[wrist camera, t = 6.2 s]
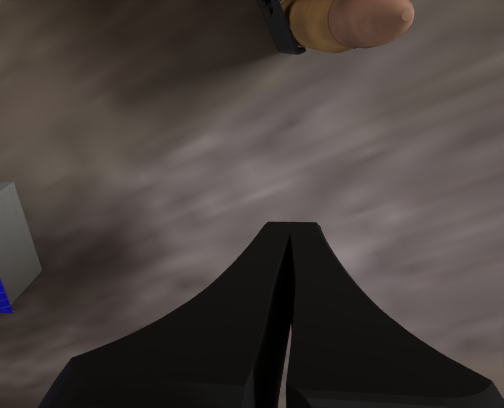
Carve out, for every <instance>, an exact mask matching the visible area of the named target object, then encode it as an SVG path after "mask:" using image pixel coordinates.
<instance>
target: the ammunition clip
mask: <svg viewBox="0 0 504 408" xmlns="http://www.w3.org/2000/svg"><path fill="white" fill-rule="evenodd" d="M257 1H258V3H259V6H260V8H261V10H262V13H263V15H264V18H265V20H266V23H267V25H268V28H269V30H270V33H271V35H272V37H273V40H274V42H275V45H276V47H277V50H278V51H279V52H281V53H288V54H296V55H299V54H301V53H304V52H306V49H305V47H307V48H311V49H315V50H320V51H324V52H333V53H340V52H343V51H347V50H350V49H355V48H371V47H375V46H379V45H383V44H386V43H389V42H391V41H393V40H394V39H396V38H397V37H399V36H400V35H401V34H403V33H404V32H406V31H407V29H408V28H409V26H410V25H411V24H412V22H413V19H414V9H413V6H412V4H411V3H410V2H409V0H257ZM297 45H298V46H302V47H298V46H297Z"/></svg>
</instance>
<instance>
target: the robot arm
mask: <svg viewBox="0 0 504 408" xmlns="http://www.w3.org/2000/svg"><path fill="white" fill-rule="evenodd" d="M290 325H291V328H292V337H291V347H290V356H289V364H288V373H287V380H286V408H504V399H503V397H502V396H501V394H500V393H499V391H498V389H497V388H496V386H495V385H494V383H493V382H492V381H491V380H489V379H487V378H486V377H484V376H482V375H480V374H478V373H476V372H474V371H473V370H471V369H469V368H467V367H465V366H463V365H461V364H459V363H458V362H456V361H454V360H452V359H450V358H448V357H446V356H445V355H443V354H441V353H440V352H438V351H437V350H435V349H434V348H432V347H431V346H429V345H427V344H426V343H424V342H423V341H421V340H420V339H418V338H417V337H415V336H414V335H413V334H411V333H410V332H408V331H407V330H406V329H404V328H403V327H402V326H401V325H399V324H398V323H397V322H396V321H394V320H393V319H392V318H390V317H389V316H388V315H387V314H386V313H384V312H383V311H382V310H381V309H380V308H379V307H378V306H377V305H376V304H375V303H374V302H373V301H372V300H371V299H370V298H369V297H368V296H367V295H366V294H365V293H364V292H363V291H362V290H361V288H360V287H359V286H358V285H357V284H356V283H355V281H354V280H353V279H352V278H351V276H350V275H349V274H348V273H347V271H346V270H345V269H344V267H343V266H342V264H341V263H340V262H339V260H338V259H337V257H336V256H335V254H334V253H333V251H332V249H331V248H330V246H329V244H328V242H327V241H326V239H325V237H324V235H323V232H322V230H321V227H320V226H319V225H318V224H317V223H316V222H267V223H266V224H265V225H264V226H263V228H262V229H261V230H260V232H259V233H258V234H257V236H256V237H255V238H254V240H253V241H252V242H251V243H250V244H249V246H248V247H247V248H246V249H245V250H244V251H243V253H242V254H241V255H240V256H239V257H238V258H237V259H236V260H235V262H234V263H233V264H232V265H231V266H230V267H229V268H227V269H226V270H225V271H224V272H223V273H222V274H221V275H220V276H219V277H218V278H217V279H216V280H215V281H214V282H213V283H212V284H210V285H209V286H208V287H207V288H206V289H204V290H203V291H202V292H201V293H199V294H198V295H197V296H195V297H194V298H192V299H191V300H190V301H188V302H186V303H185V304H183V305H182V306H180V307H179V308H177V309H175V310H174V311H172V312H171V313H169V314H167V315H166V316H164V317H163V318H161V319H159V320H157V321H155V322H153V323H152V324H150V325H148V326H146V327H144V328H142V329H140V330H138V331H136V332H134V333H132V334H130V335H128V336H125V337H123V338H121V339H119V340H116V341H114V342H111V343H109V344H106V345H104V346H101V347H99V348H96V349H94V350H91V351H89V352H86V353H84V354H81V355H78V356H75V357H72V358H71V359H70V361H69V362H68V363H67V365H66V366H65V368H64V369H63V370H62V372H61V373H60V374H59V376H58V377H57V378H56V380H55V381H54V383H53V384H52V386H51V388H50V389H49V391H48V392H47V394H46V395H45V397H44V399H43V400H42V402H41V403H40V405H39V407H38V408H278V400H279V393H280V387H281V381H282V375H283V368H284V362H285V356H286V350H287V344H288V338H289V331H290Z"/></svg>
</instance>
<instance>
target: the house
mask: <svg viewBox="0 0 504 408" xmlns="http://www.w3.org/2000/svg"><path fill="white" fill-rule="evenodd" d="M41 272H42V268H41V265H40V262H39V259H38V256H37V253H36V250H35V246H34V243H33V240H32V237H31V234H30V231H29V228H28V225H27V222H26V219H25V216H24V213H23V210H22V207H21V204H20V201H19V197H18V194H17V191H16V188H15V185H14V182H0V313H13V312H14V311H13V310H12V308H11V305H12V303H13V302H14V301H15V300H16V299H17V298H18V297H19V296H20V295H21V293H22V292H23V291H24V290H25V289H26V288H27V287H28V286H29V285H30V284H31V283H32V281H33V280H34V279H35V278H36V277H37V276H38V275H39V274H40V273H41Z"/></svg>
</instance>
